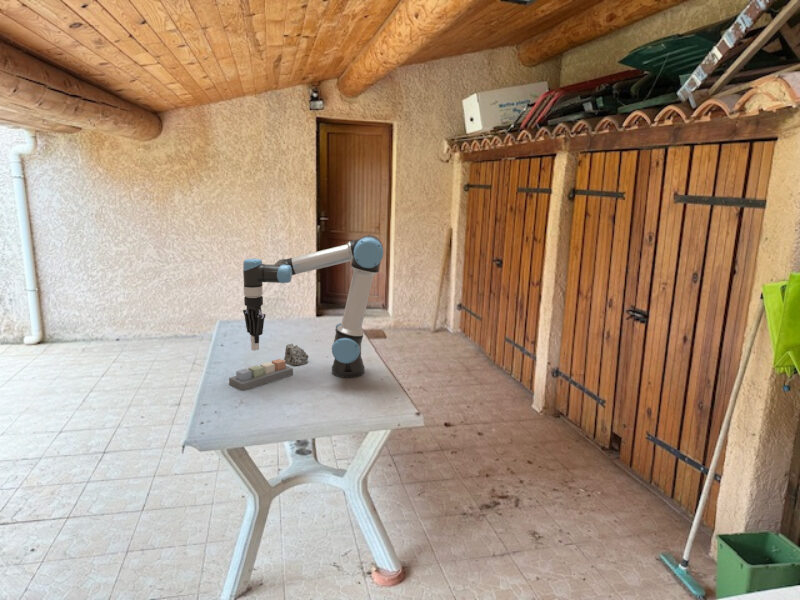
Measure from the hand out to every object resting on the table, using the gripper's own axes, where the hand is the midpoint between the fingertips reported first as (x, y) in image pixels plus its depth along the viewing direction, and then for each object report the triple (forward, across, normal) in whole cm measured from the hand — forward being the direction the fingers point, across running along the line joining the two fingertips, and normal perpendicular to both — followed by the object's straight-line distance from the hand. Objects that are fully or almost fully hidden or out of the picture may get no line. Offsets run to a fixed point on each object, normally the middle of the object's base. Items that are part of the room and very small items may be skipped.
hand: (255, 349), depth 219 cm
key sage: (+12, 0, 0) cm, 12 cm away
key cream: (+12, 0, -6) cm, 14 cm away
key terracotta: (+12, 0, -12) cm, 17 cm away
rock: (+15, +8, -28) cm, 32 cm away
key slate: (+12, 0, +6) cm, 14 cm away
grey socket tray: (+14, 0, -3) cm, 15 cm away
